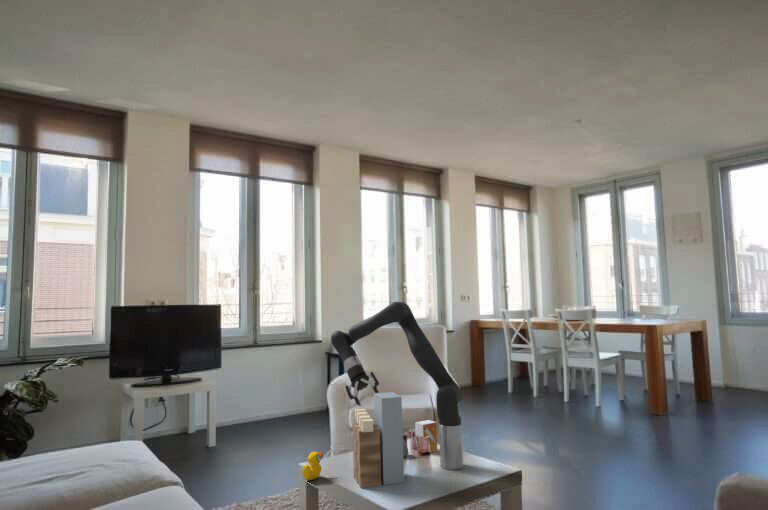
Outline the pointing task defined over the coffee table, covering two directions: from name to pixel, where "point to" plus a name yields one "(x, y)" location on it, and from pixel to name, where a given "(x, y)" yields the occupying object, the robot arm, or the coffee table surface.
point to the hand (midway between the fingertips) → (368, 400)
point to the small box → (427, 432)
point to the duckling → (312, 466)
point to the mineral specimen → (405, 448)
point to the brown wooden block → (367, 457)
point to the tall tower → (390, 436)
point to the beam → (364, 420)
